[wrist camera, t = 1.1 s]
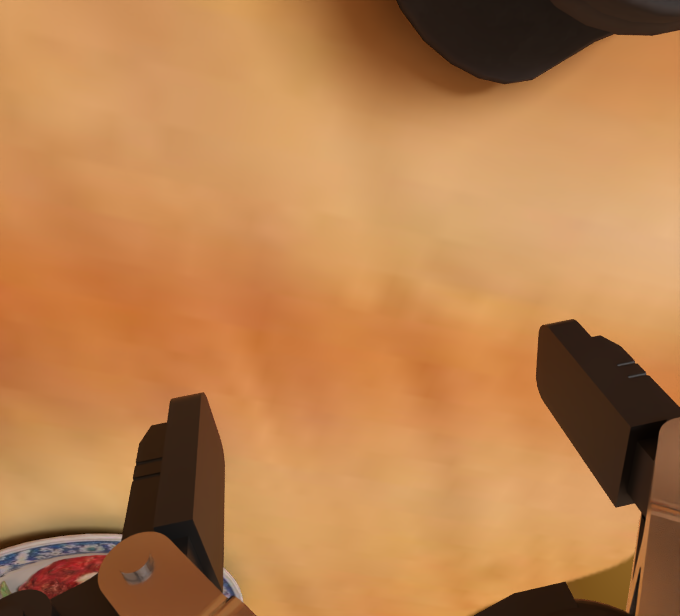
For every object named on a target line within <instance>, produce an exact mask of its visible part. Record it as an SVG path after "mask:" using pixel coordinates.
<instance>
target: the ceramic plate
mask: <svg viewBox="0 0 680 616" xmlns="http://www.w3.org/2000/svg"><path fill="white" fill-rule="evenodd" d="M121 539H122V534H78V535H67V536H59V537H53V538H46V539H40V540H35V541H30V542H25V543H22V544H18V545H15V546H11V547H8V548H5V549H2V550H0V599H2V598H4V597H5V596H7V595H9V594H12V593H14V592H17V591H21V590H27V589H33V590H38V591H41V592H43V593H44V594H46V595H47V597H48V598H49V599H51V598H53V597H55V596H57V595H59V594H61V593H63V592H65V591H67V590H69V589H71V588H73V587H75V586H77V585H79V584H81V583H83V582H85V581H86V580H88V579H90V578H91V577H93V576H94V575H96V574H97V573H98V572H99V569H100V566H101V564H102V562H103V560H104V558H105V557H106V556H107V554H108V553H109V552H110V551H111V550H112V549H113V548H114V547H115V546H116V545H117V544H118V543H120V542H121ZM223 594H224V595H225V596H226V597H227V598H229V597H231V596H235V597H237V598H238V599H240V600H241V601H242V602H243V597H242V594H241V591H240V588H239V586H238V584H237V582H236V581H235V579H234V578H233V577H232V576H231V574H230V573H229V572H228V571H227V570H226V569H225V568H224V567H223Z"/></svg>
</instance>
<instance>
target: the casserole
mask: <svg viewBox="0 0 680 616" xmlns="http://www.w3.org/2000/svg"><path fill="white" fill-rule="evenodd" d="M397 3H398V5H399V7H400V9H401V10H402V12H403V13H404V14H405V16H406V17H407V18H408V20H409V21H410V23H411V24H412V25H413V27H414V28H415V29H416V31H417V32H418V33H419V35H420V36H421V37H422V39H423V40H424V41H425V42H426V43H427V44H428V45H430V46H431V47H432V48H433V49H434V50H436V51H437V52H438V53H439V54H440V55H441V56H443V57H444V58H445V59H446V60H447V61H448V62H450V63H451V64H453V65H455V66H456V67H458V68H460V69H462V70H464V71H466V72H468V73H470V74H472V75H474V76H475V77H477V78H480V79H485V80H489V81H493V82H498V83H502V84H509V83H515V82H522V81H528V80H533V79H534V78H536V77H538V76H539V75H541V74H543V73H544V72H546V71H548V70H549V69H551V68H552V67H554V66H556V65H557V64H559V63H561V62H562V61H564V60H566V59H567V58H569V57H571V56H572V55H574V54H576V53H577V52H579V51H580V50H582V49H584V48H585V47H587V46H589V45H590V44H592V43H594V42H595V41H598V40H600V39H603V38H605V37H608V36H610V35H613V34H617V35H650V36H653V35H658V34H663V33H668V32H673V31H677V30H680V0H397Z"/></svg>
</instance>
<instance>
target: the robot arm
mask: <svg viewBox="0 0 680 616" xmlns="http://www.w3.org/2000/svg"><path fill="white" fill-rule="evenodd" d="M536 381H537V387H538V390H539V393H540V396H541V398H542V400H543V401H544V403H545V404H546V406H547V407H548V409H549V410H550V412H551V413H552V415H553V416H554V418H555V419H556V421H557V422H558V424H559V425H560V426H561V428H562V429H563V431H564V432H565V434H566V435H567V437H568V438H569V440H570V441H571V443H572V444H573V446H574V447H575V449H576V450H577V451H578V453H579V454H580V456H581V457H582V459H583V460H584V462H585V463H586V465H587V466H588V468H589V469H590V471H591V472H592V473H593V475H594V476H595V478H596V479H597V481H598V482H599V484H600V485H601V487H602V488H603V490H604V491H605V493H606V494H607V496H608V497H609V498H610V500H611V501H612V503H613V504H614V506H615V507H620V506H625V505H629V504H634V503H635V504H636V505H637V507H638V508H639V510H640V511H641V516H640V520H639V527H638V534H637V541H636V547H635V554H634V561H633V569H632V576H631V583H630V589H629V596H628V601H627V607H626V612H625V611H623V610H621V609H618V608H616V607H613V606H610V605H607V604H604V603H600V602H596V601H590V600H584V599H574V598H573V596H572V594H571V592H570V590H569V588H568V586H567V584H566V582H562V583H558V584H553V585H549V586H545V587H540V588H536V589H531V590H527V591H523V592H518V593H514V594H512V595H510V596H509V597H507V598H505V599H503V600H501V601H499V602H498V603H496V604H494V605H492V606H490V607H488V608H487V609H485V610H483V611H481V612H479V613H478V614H476V615H474V616H680V407H679V406H678V405H677V404H676V403H675V402H674V401H673V400H672V399H671V398H670V397H669V396H668V395H667V394H666V393H665V392H664V391H663V390H662V389H661V387H660V386H659V385H658V384H657V383H656V382H655V381H654V380H653V379H652V378H651V377H650V376H649V375H648V376H647V375H646V372H645V371H644V370H643V369H642V368H641V367H640V366H639V365H638V364H635V361H634V360H633V358H632V357H631V356H630V355H629V354H628V353H627V352H626V351H625V350H624V349H623V348H622V347H621V346H619V345H617V344H615V343H614V342H612V341H610V340H608V339H606V338H604V337H602V336H595V337H591V336H590V335H589V334H588V333H587V332H586V330H585V329H584V328H583V327H582V326H581V325H580V324H579V323H578V322H577V321H576V320H574V319H571V320H566V321H561V322H556V323H551V324H546V325H542V326H541V327H540V330H539V337H538V352H537V368H536ZM224 489H225V461H224V453H223V447H222V443H221V439H220V436H219V433H218V430H217V427H216V424H215V421H214V418H213V415H212V412H211V409H210V406H209V403H208V400H207V397H206V395H205V394H204V393H198V394H193V395H188V396H183V397H178V398H173V399H171V401H170V405H169V413H168V420H167V423H162V424H157V425H152V426H151V427H150V429H149V430H148V432H147V433H146V435H145V436H144V437H143V439H142V440H141V442H140V443H139V448H138V453H137V459H136V466H135V469H134V475H133V482H132V486H131V491H130V496H129V502H128V507H127V513H126V518H125V523H124V529H123V534H122V539H121V542H120V543H118V544H117V545H116V546H115V547H114V548H113V549H112V550H111V551H110V552H109V553H108V554H107V556H106V557H105V558H104V560H103V562H102V564H101V566H100V569H99V572H98V573H97V574H96V575H94V576H93V577H91V578H90V579H88V580H86V581H85V582H83V583H81V584H79V585H77V586H75V587H73V588H71V589H69V590H67V591H65V592H63V593H61V594H59V595H57V596H55V597H53V598H51V599H49V598H48V597H47V595H46V594H44V593H43V592H41V591H38V590H33V589H27V590H21V591H17V592H14V593H12V594H9V595H7V596H5V597H4V598H2V599H0V616H256V615H255V614H254V613H253V612H252V611H251V610H250V609H249V608H248V607H247V606H246V605H245V604H244V603H243V602H242V601H241V600H240V599H238V598H237V597H235V596H231V597H229V598H227V597H226V596H225V595H224V594H223V561H224Z"/></svg>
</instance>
